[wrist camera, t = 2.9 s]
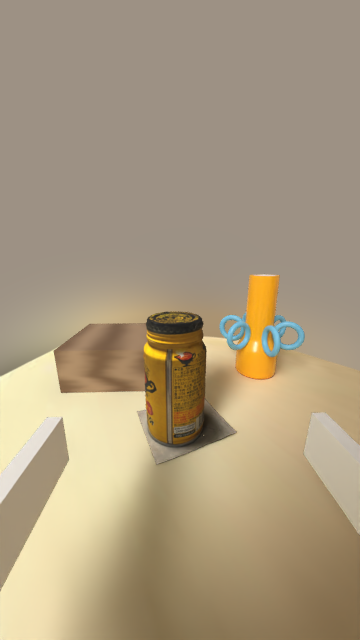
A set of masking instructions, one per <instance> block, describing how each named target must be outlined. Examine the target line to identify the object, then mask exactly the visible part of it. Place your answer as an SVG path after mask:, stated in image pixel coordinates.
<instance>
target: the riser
mask: <svg viewBox="0 0 360 640" xmlns="http://www.w3.org/2000/svg"><path fill="white" fill-rule="evenodd" d="M146 335H147V328H146V323H137V324H136V323H133V324H89V325H88V326H86V327H85V328H84V329H82V330H81V331H80V332H78V333H77V334H76V335H74V336H73V337H72V338H70V339H69V340H68V341H66V342H65V343H64V344H62V345H61V346H60V347H58V348H57V349H56V350H54V355H55V361H56V367H57V372H58V378H59V384H60V390H61V393H68V392H115V391H145V371H144V358H143V355H144V346H145V344H146V343H147V341H148V340H147V338H146Z"/></svg>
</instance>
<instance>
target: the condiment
mask: <svg viewBox="0 0 360 640" xmlns="http://www.w3.org/2000/svg"><path fill="white" fill-rule="evenodd" d="M202 327H203V321H202V318H201V317H200V316H198V315H196V314H193V313H188V312H162V313H156V314H154V315H151V316H150V317H148V319H147V323H146V328H147V335H146V338H147V340H148V341H147V343H146V344H145V346H144V355H143V358H144V371H145V392H146V395H145V396H146V410H143V411H137V413H138V416H139V419H140V421H141V424H142V427H143V430H144V433H145V435H146V438H147V441H148V444H149V446H150V449H151V451H152V454H153V457H154V459H155V462H156V465H157V464H159V463H162V462H165V461H168V460H170V459H173V458H176V457H178V456H180V455H184V454H186V453H189V452H191V451H194V450H196V449H198V448H200V447H203V446H204V445H206V444H208V443H212V442H214V441H217V440H220V439H222V438H224V437H226V436H228V435H231V434H234V433H236V431H235V430H234V429H233V428H232V427H231V426H230V425H229V424H228V423H227V422H226V421H225V420H224V419H223V418H222V417H221V416H220V415H219V414H218V412H217V411H216V410H215V409H213V407H212V406H211V405H210V403H209V402H208V401H207V400H206V399H205V374H206V346H205V345H204V343H203V341H202V339H203V331H202ZM203 435H204V436H203Z"/></svg>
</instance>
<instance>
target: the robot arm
mask: <svg viewBox="0 0 360 640" xmlns="http://www.w3.org/2000/svg"><path fill="white" fill-rule="evenodd" d="M304 456H305V457H306V459H307V460H308V461H309V463H310V464H311V466H312V467H313V469H314V470H315V472H316V473H317V474H318V476H319V477H320V479H321V480H322V482H323V483H324V485H325V486H326V487H327V489H328V490H329V492H330V493H331V495H332V496H333V498H334V499H335V500H336V502H337V503H338V505H339V506H340V508H341V509H342V511H343V512H344V513H345V515H346V516H347V518H348V519H349V521H350V522H351V524H352V525H353V527H354V528H355V529H356V531H357V532H358V534H359V535H360V446H359V445H358V444H357V443H356V442H355V441H354V440H353V439H352V438H351V437H350V436H349V435H348V434H347V433H346V432H345V431H344V430H343V429H342V428H341V427H340V426H339V425H338V424H337V423H336V422H335V421H334V420H333V419H332V418H331V417H330V416H329V415H327V414H326V413H312V415H311V419H310V424H309V429H308V434H307V439H306V444H305V449H304ZM68 461H69V456H68V450H67V443H66V437H65V430H64V424H63V418H62V417H47V418H46V419H45V420H44V422H43V423H42V424H41V425H40V427H39V428H38V429H37V430H36V431H35V433H34V434H33V435H32V436H31V438H30V439H29V440H28V441H27V443H26V444H25V445H24V446H23V447H22V449H21V450H20V451H19V452H18V454H17V455H16V456H15V457H14V459H13V460H12V461H11V462H10V463H9V465H8V466H7V467H6V468H5V470H4V471H3V472H2V473H1V475H0V590H1V589H2V587H3V585H4V583H5V581H6V579H7V577H8V575H9V573H10V571H11V570H12V568H13V566H14V564H15V562H16V560H17V558H18V556H19V554H20V552H21V550H22V549H23V547H24V545H25V543H26V541H27V539H28V537H29V535H30V533H31V531H32V529H33V528H34V526H35V524H36V522H37V520H38V518H39V516H40V514H41V512H42V510H43V508H44V507H45V505H46V503H47V501H48V499H49V497H50V495H51V493H52V491H53V489H54V487H55V486H56V484H57V482H58V480H59V478H60V476H61V474H62V472H63V470H64V468H65V466H66V465H67V463H68Z"/></svg>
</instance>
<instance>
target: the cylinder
mask: <svg viewBox="0 0 360 640" xmlns="http://www.w3.org/2000/svg"><path fill="white" fill-rule="evenodd" d="M279 278H280V275H262V274H259V275H257V274H256V275H250V276H249V288H248V300H247V310H246V313H245V314H244V315H243V318H242V319H241V318H240V317H238V316H235V315H228V316H226V317H224V318H223V319H222V321H221V323H220V331H221V333H222V335H223V336H224V337H225V338H226V339H227V343H228V345H229V347H230V348H231V349H233V350H237V352H236V365H235V366H236V369H237V371H238V372H239V373H240V374H242V375H244V376H246V377H250V378H254V379H267V378H270V377H272V376H273V375H274V374H275V368H276V360H277V354H278V353H279V351H280V348H281V349H284V350H293V349H296V348H298V347H300V346H301V345H302V343H303V341H304V338H305V335H304V331H303V329H302V328H301V327H300V326H299V325H298V324H296V323H293V322H286V320H285V318H284V317H283V316H281V315H277V316H275V311H276V303H277V294H278V285H279ZM228 320H235V321H237V323H235V324H234V325H233V326H232V327H231V328H230V330H229V331H228V334H227V333H226V331H225V328H224V326H225V323H226V322H227V321H228ZM277 320H280V321H281V323H279V324H277V325H276V326H275V327H274V323H275V322H276V321H277ZM239 327H241V331H240V333H239V334H238V335H236V336H233V334H234V332H235V331H236V329H238V328H239ZM286 327H291V328H293V329H295V330H296V331H297V333H298V340H297V341H296V342H295V343H294V344H291V345H286V344H283V343H281V340H280V338H281V337H282V336H283V334H284V333H285V330H286ZM279 330H280V331H279ZM278 331H279V332H278ZM239 339H240V340H239ZM235 340H239V342H238V344H237V345H235V344H234V343H233V341H235Z"/></svg>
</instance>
